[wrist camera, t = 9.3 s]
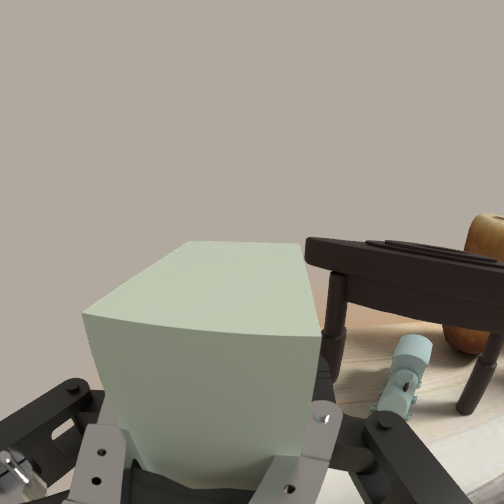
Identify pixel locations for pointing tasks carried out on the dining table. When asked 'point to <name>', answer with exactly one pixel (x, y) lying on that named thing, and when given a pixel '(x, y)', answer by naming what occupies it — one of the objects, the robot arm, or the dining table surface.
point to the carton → (211, 360)
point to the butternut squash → (488, 244)
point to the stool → (412, 306)
